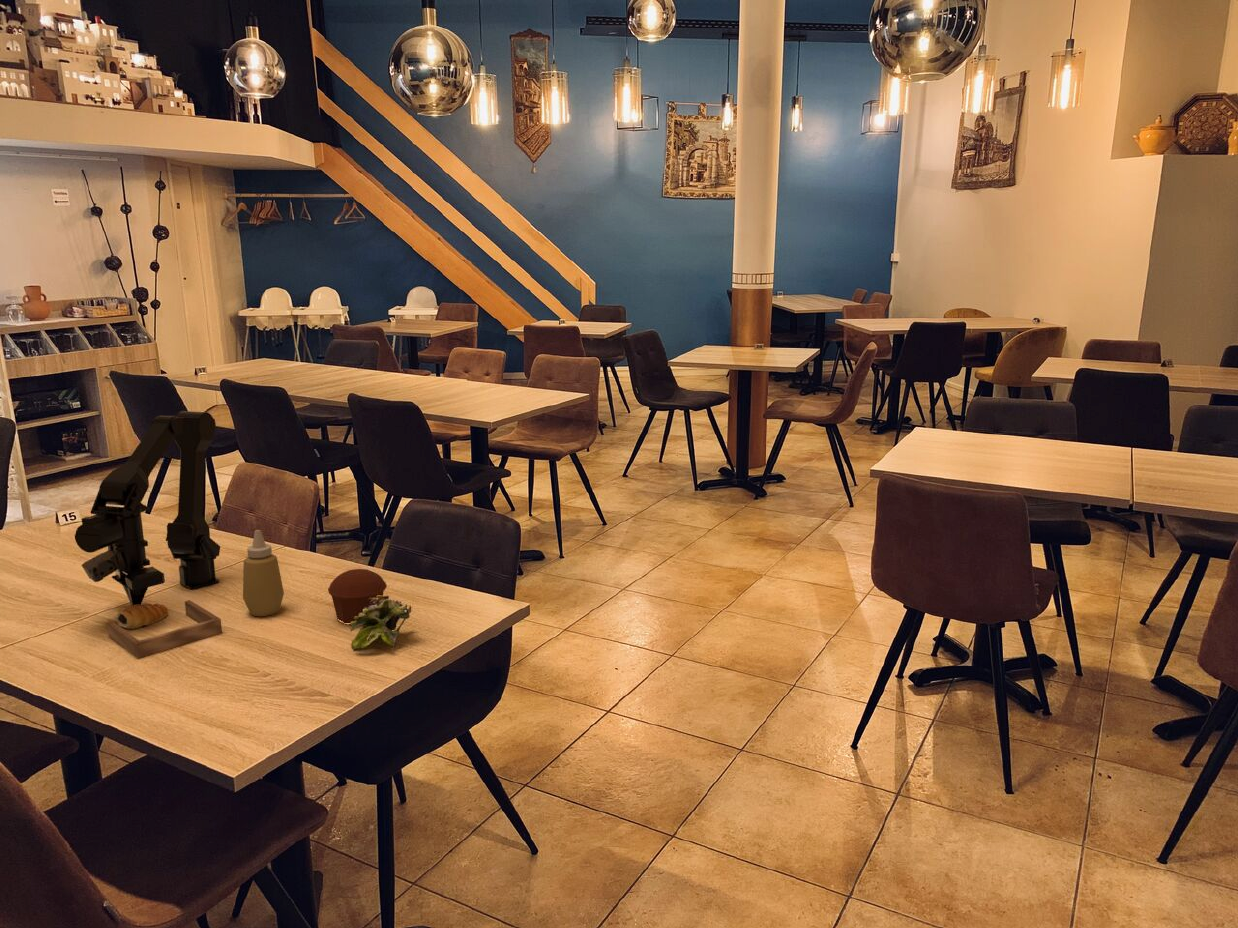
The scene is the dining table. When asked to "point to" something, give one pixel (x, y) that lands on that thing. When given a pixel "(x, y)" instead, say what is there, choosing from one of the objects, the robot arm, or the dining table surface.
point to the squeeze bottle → (261, 579)
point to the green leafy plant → (379, 621)
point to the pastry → (140, 615)
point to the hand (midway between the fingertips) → (136, 608)
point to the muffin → (355, 592)
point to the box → (169, 633)
